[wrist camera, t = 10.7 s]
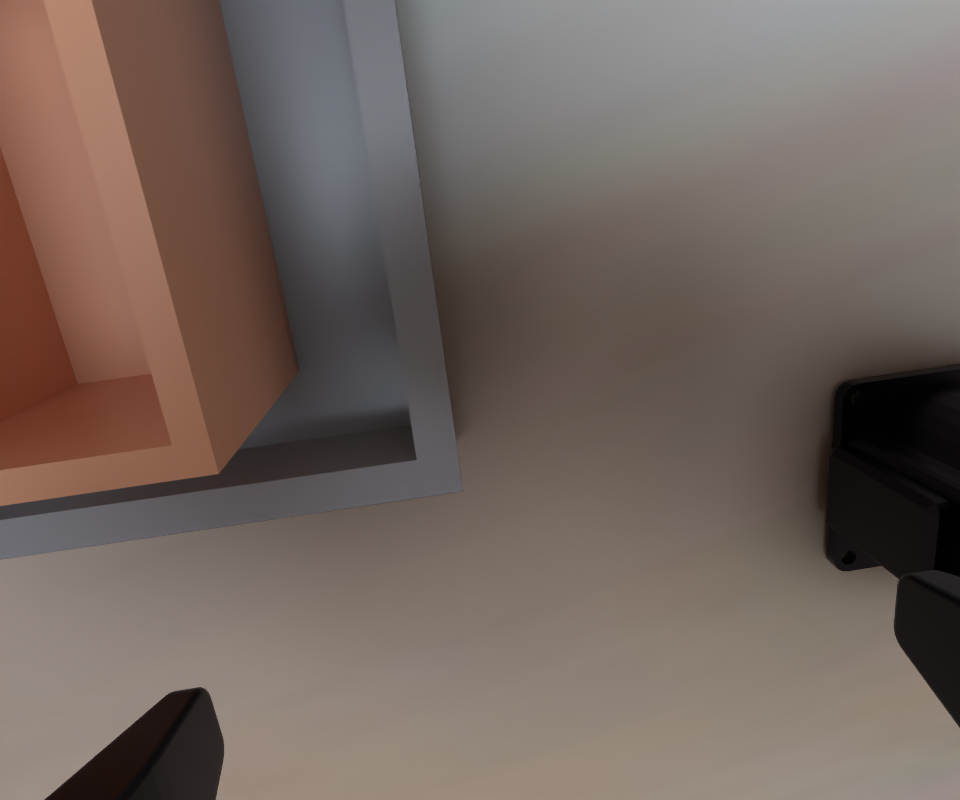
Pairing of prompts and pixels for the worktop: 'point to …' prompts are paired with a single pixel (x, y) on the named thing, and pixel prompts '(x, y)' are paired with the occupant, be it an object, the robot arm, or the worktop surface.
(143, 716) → the robot arm
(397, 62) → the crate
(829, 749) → the worktop surface
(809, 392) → the worktop surface
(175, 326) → the box
